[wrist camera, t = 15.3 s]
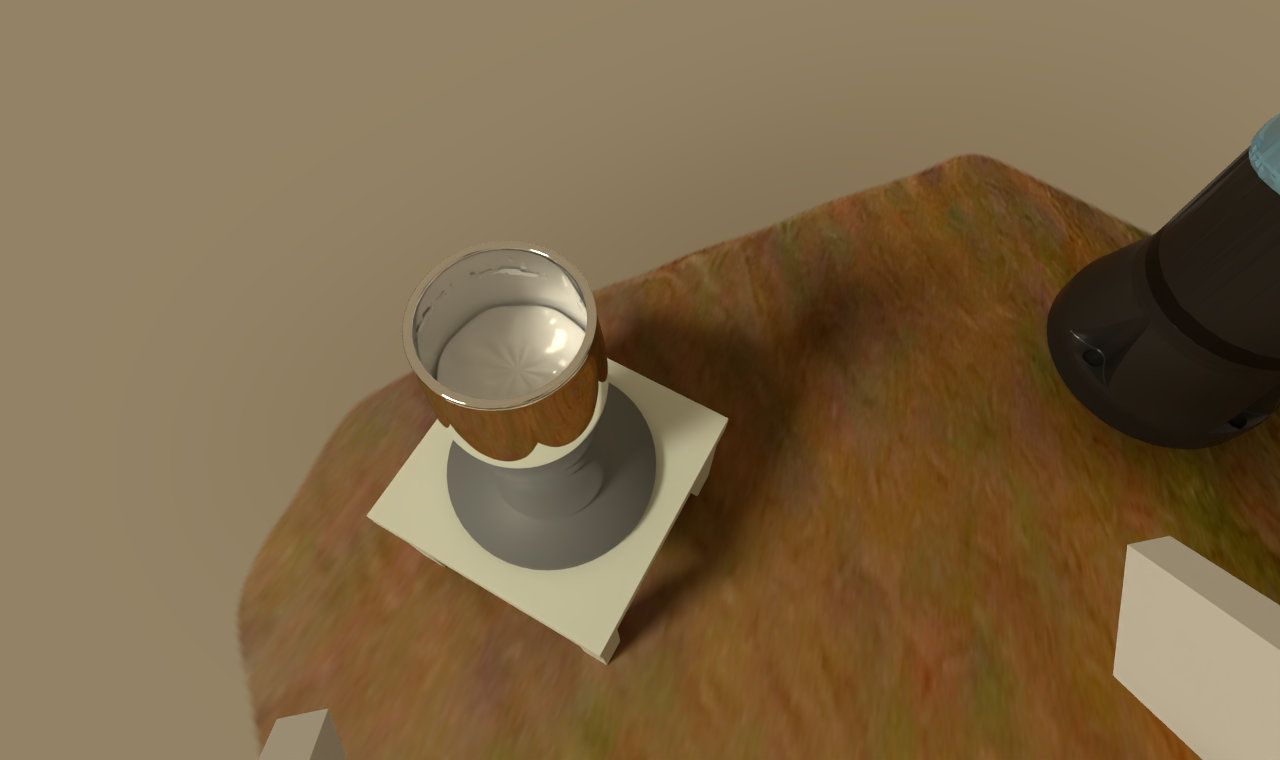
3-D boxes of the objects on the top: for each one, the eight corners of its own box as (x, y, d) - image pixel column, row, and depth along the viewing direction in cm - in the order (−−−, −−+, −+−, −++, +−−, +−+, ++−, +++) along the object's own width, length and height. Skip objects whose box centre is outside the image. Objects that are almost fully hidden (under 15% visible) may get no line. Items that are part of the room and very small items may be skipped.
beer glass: (560, 379, 40) (519, 202, 26) (644, 469, 37) (645, 326, 24) (457, 458, 38) (354, 311, 24) (539, 558, 35) (476, 457, 22)
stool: (712, 475, 48) (729, 414, 39) (608, 670, 43) (598, 655, 33) (537, 384, 51) (513, 307, 42) (420, 556, 46) (362, 513, 36)
